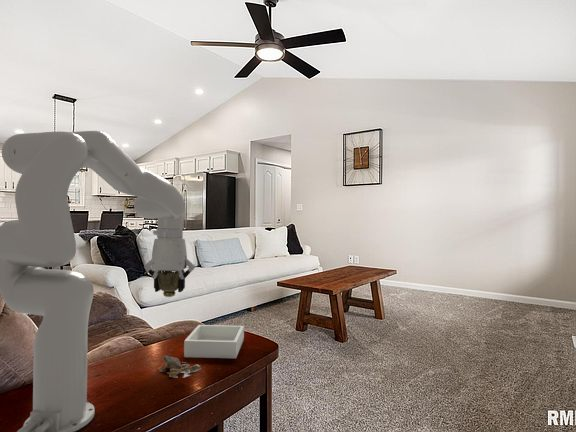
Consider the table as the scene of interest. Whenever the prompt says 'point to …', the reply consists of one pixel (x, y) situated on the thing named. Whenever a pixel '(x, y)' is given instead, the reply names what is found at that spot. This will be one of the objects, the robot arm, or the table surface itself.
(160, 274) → the embossed bronze vase
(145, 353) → the table surface
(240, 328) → the bin
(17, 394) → the table surface
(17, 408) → the table surface
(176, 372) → the frog figurine
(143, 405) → the table surface
